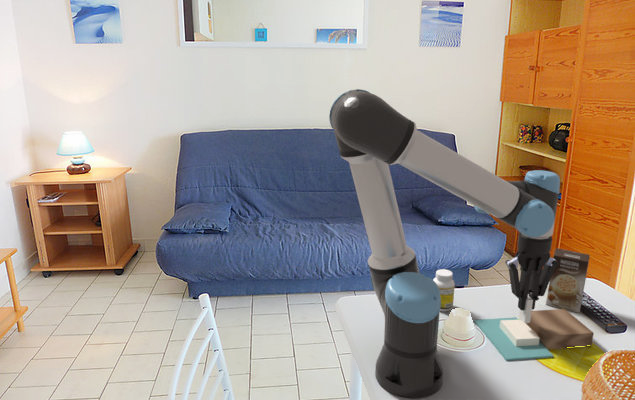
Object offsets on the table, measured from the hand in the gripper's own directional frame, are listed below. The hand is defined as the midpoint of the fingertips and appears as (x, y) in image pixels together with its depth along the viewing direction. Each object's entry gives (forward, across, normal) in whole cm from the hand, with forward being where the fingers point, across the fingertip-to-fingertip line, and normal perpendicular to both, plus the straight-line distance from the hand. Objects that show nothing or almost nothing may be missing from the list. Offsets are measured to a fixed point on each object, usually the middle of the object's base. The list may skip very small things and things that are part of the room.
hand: (524, 320), depth 122 cm
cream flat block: (+5, -1, 0) cm, 5 cm away
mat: (+5, -3, 0) cm, 6 cm away
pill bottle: (+5, -15, +18) cm, 24 cm away
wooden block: (+5, +9, 0) cm, 10 cm away
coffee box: (+5, +21, +15) cm, 26 cm away
